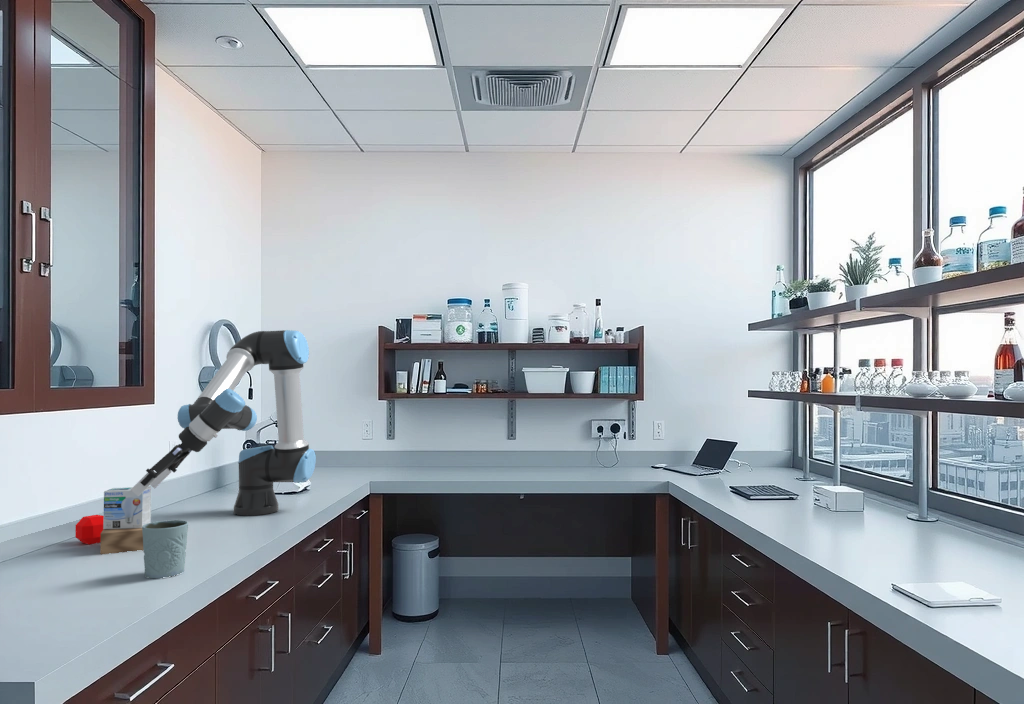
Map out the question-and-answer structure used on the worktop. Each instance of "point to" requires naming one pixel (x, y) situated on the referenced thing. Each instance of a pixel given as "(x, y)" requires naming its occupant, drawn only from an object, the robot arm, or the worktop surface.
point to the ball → (89, 529)
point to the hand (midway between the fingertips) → (143, 489)
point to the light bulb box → (126, 508)
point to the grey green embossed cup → (164, 548)
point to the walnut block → (121, 540)
